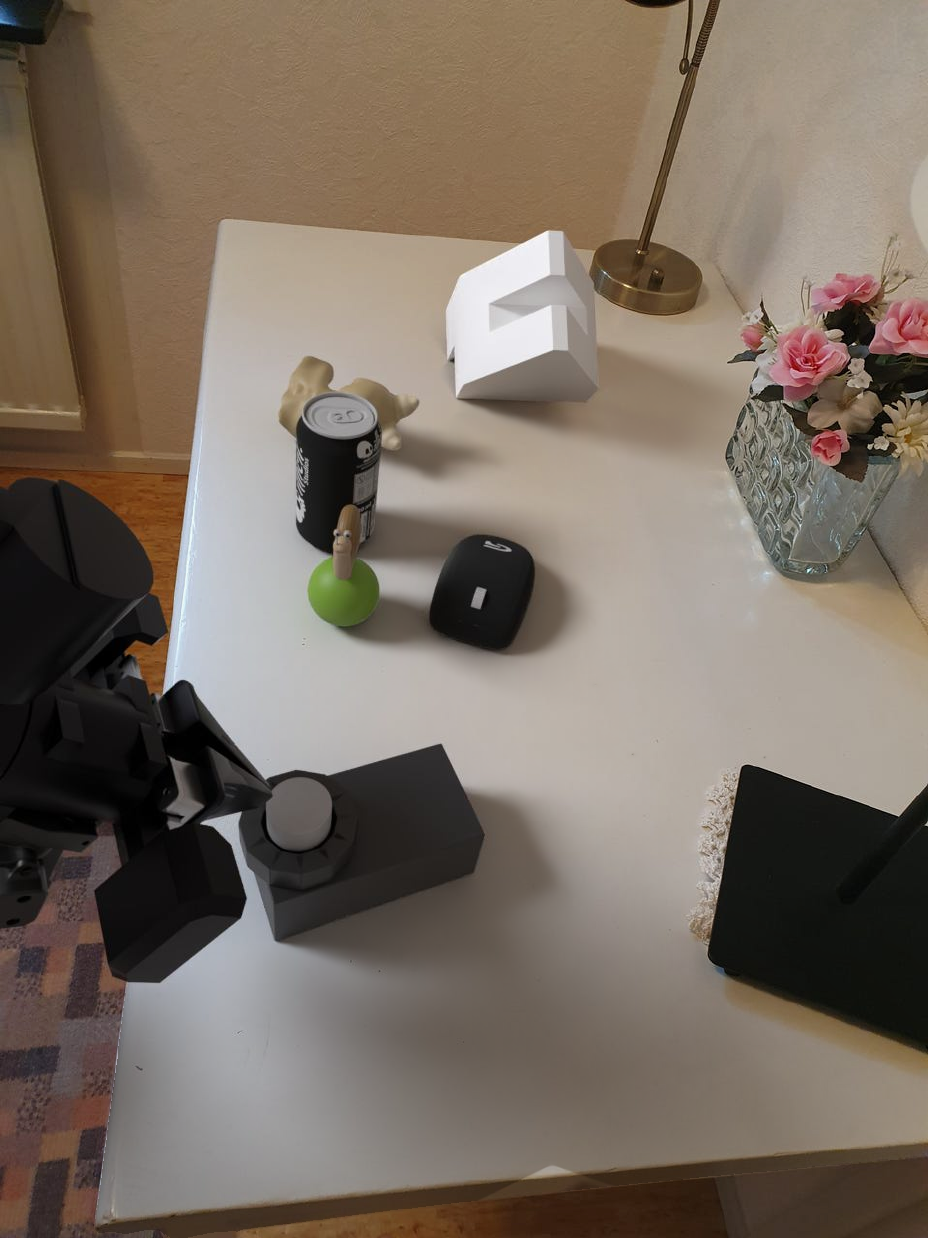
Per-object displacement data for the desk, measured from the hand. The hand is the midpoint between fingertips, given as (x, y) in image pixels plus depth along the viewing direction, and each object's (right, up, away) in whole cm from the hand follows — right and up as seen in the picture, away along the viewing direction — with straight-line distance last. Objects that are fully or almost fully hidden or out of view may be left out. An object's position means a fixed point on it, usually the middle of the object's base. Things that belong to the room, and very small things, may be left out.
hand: (265, 796), depth 49 cm
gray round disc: (+1, -2, +3) cm, 4 cm away
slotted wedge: (+16, +33, +48) cm, 60 cm away
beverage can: (0, +17, +30) cm, 34 cm away
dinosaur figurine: (-1, +26, +38) cm, 47 cm away
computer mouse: (+12, +11, +27) cm, 32 cm away
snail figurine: (+1, +9, +23) cm, 25 cm away
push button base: (+4, -6, +10) cm, 12 cm away
